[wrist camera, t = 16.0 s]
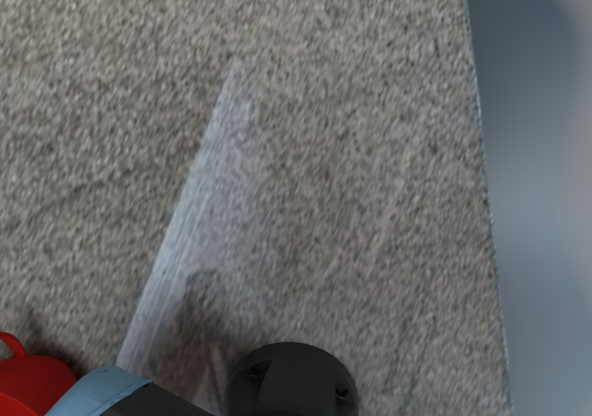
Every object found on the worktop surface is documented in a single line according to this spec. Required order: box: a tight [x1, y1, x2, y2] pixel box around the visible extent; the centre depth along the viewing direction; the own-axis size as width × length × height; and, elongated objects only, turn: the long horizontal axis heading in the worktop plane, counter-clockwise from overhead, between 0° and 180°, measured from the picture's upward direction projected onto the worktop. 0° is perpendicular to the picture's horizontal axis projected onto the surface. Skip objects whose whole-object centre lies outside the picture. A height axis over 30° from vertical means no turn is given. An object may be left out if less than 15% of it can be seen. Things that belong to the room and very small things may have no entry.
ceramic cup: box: [0, 332, 77, 416], centre depth 52 cm, size 13×17×10 cm
